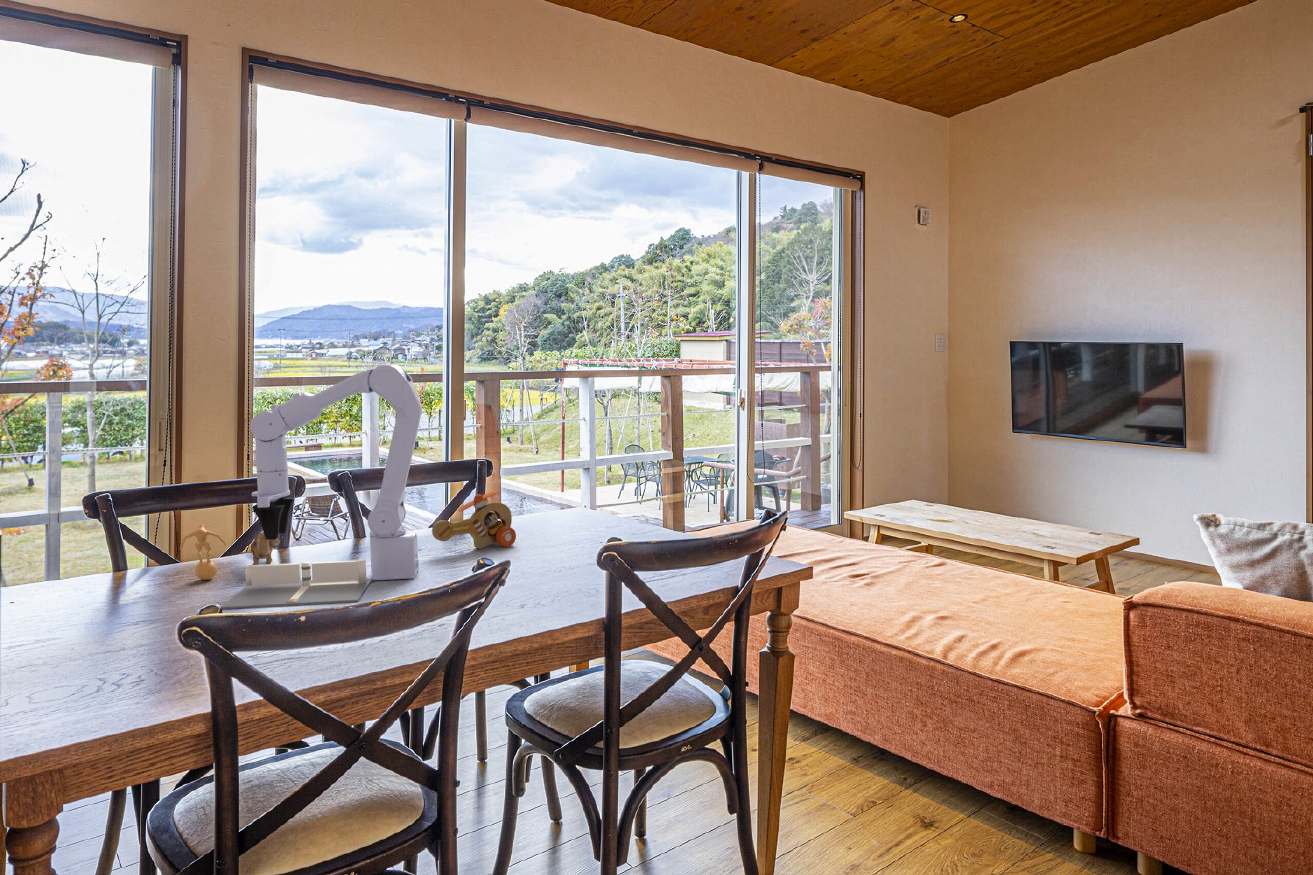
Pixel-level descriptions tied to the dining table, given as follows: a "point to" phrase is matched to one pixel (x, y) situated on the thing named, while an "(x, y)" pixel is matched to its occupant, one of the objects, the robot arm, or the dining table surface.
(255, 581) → the hinged fence panel
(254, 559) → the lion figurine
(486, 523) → the toy helicopter
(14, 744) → the dining table surface
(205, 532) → the figurine
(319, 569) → the fixed fence section
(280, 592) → the board
